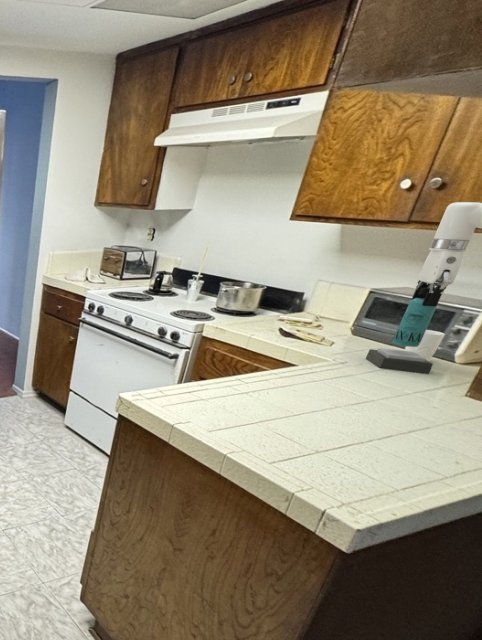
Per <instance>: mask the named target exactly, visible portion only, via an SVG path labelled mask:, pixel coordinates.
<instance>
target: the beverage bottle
mask: <svg viewBox="0 0 482 640" xmlns="http://www.w3.org/2000/svg"><path fill="white" fill-rule="evenodd" d="M429 291H430V288H421V290H420V292H419V293H418V294H421V295H426V294H427V293H429ZM424 299H425V298H415V299H413V300H411V299H410V301H409V303H408V306H407V308H406V310H405V312H404V314H403V316H402V317H401V320H400V321H399V324H398V326H397V329H396V331H395V334H394V335H393V337H392V341H391V342H392V344H395V345H397V346H403V347H406V346H409V347H417V346H418V345H420V342H421V340H422V337H423V335H425V334H424V333H425V331H427V330H428V328H429V325H430V323H431V320H432V318H433V316H434V313H435V311H436V309H437V307H438V305H439V303H438V304H437V306H435V307H433V306H423V305H422V303H423V301H424Z"/></svg>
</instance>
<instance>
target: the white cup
mask: <svg viewBox="0 0 482 640" xmlns="http://www.w3.org/2000/svg"><path fill="white" fill-rule="evenodd" d="M426 330H427V331H425V333H424V334H425V335H423V337H422V340H421V342H420V345H418V346H417V347H409V346H405V347H404V351H412V352H415V353H416V354H418V355H420V356H422V357H424V358H426V360H427V361H429V362H431V360H432V358H433V356H434V355H435V353H436V352H437V350H438V348H439V346H440V345H441V343H442V341H443V339H444V338H445V336H446V334H445V333H444V332H441V331H438V330H437V331H436V330H431V329H426Z"/></svg>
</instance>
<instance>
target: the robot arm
mask: <svg viewBox="0 0 482 640" xmlns="http://www.w3.org/2000/svg"><path fill="white" fill-rule="evenodd" d="M476 228H477V229H482V202H477V201H475V202H473V201H466V202H465V201H457V202H451V203H449V204H448V206H446V208H445V210H444V213H443V215H442V218H441V220H440V223H439V225H438V227H437V230H436V232H435V234H434V236H433V239H432V241H431V244H430V246H429V248H428V250H429V253H428V254H427V256H426V259H425V260H424V263H423V265H422V267H421V269H420V271H419V274H418V277H417V278H418V279H417V280H418V281H417V285H416V286H415V290H414V292H413V295H412V297H411V299H410V301H411V300H413V299H415V298H425V299H424V301H423V303H422V305H423V306H433V307H435V306H437V307H438V305H439V302H440V299H441V297H442V294H444V292H445V290H446V289H447V287H448V286H451V285H453V283H454V282H455V280H456V277H457V275H458V272H459V270H460V267H461V264H462V261H463V258H464V252H466V250H467V248H468V246H469V244H470V241H471V240H472V237H473V235H474V232H475V230H476ZM421 288H430V291H429V293H427V294H426V295H421V294H418V293H419V292H420V290H421ZM437 304H438V305H437Z"/></svg>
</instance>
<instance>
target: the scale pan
mask: <svg viewBox="0 0 482 640" xmlns="http://www.w3.org/2000/svg"><path fill="white" fill-rule="evenodd" d="M376 350H377V352H379V353H380V354H382V355H383V356H385V357H387V358H393V359H402V360H411V361H420V362H425V360H426V358H424V357H422V356H420V355H418V354H416V353H415V352H412V351H405V350H401V349H393V348H392V349H391V348H383V347H377V349H376Z"/></svg>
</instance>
